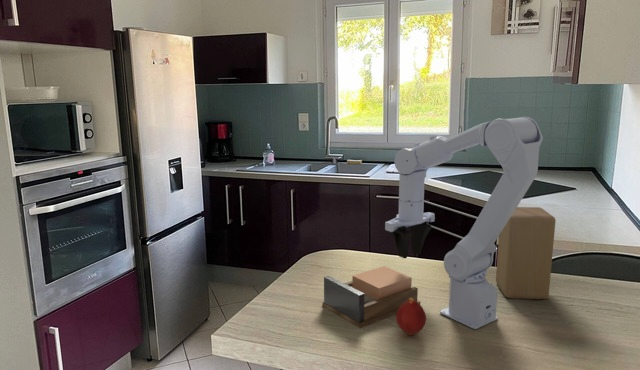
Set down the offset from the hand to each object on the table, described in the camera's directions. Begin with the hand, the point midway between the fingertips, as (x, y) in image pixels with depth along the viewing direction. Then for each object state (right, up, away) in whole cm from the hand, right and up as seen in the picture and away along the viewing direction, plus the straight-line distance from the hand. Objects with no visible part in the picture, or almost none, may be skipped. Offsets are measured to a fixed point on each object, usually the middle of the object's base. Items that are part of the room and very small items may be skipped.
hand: (409, 255), depth 117 cm
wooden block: (+27, -9, +2) cm, 29 cm away
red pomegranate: (-3, -14, -18) cm, 23 cm away
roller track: (-10, -11, -5) cm, 15 cm away
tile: (-7, -7, -4) cm, 11 cm away
